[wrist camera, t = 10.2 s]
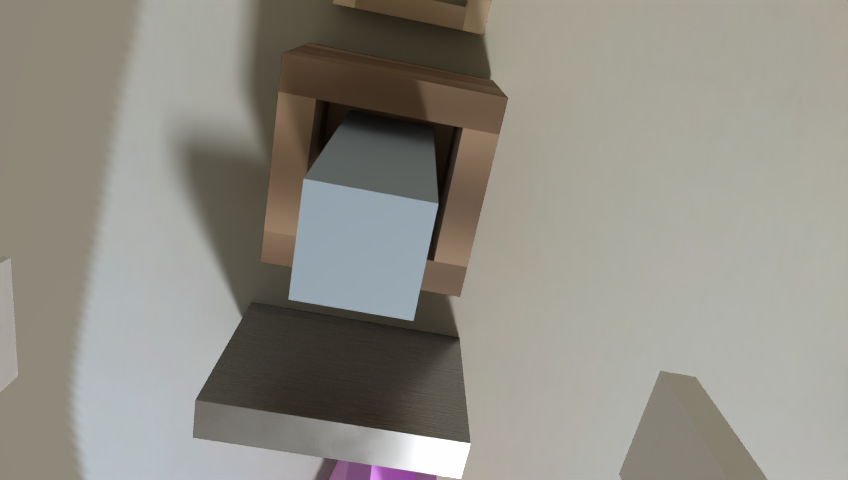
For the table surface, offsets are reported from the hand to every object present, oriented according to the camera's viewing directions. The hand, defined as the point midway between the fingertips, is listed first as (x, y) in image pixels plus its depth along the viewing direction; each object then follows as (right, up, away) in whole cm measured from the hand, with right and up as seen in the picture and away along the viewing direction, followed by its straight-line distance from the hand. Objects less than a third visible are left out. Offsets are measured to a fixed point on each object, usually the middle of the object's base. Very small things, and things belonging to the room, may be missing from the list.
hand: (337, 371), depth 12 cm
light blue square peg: (0, +7, +17) cm, 19 cm away
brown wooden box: (0, +7, +19) cm, 20 cm away
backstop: (-3, -4, +23) cm, 24 cm away
